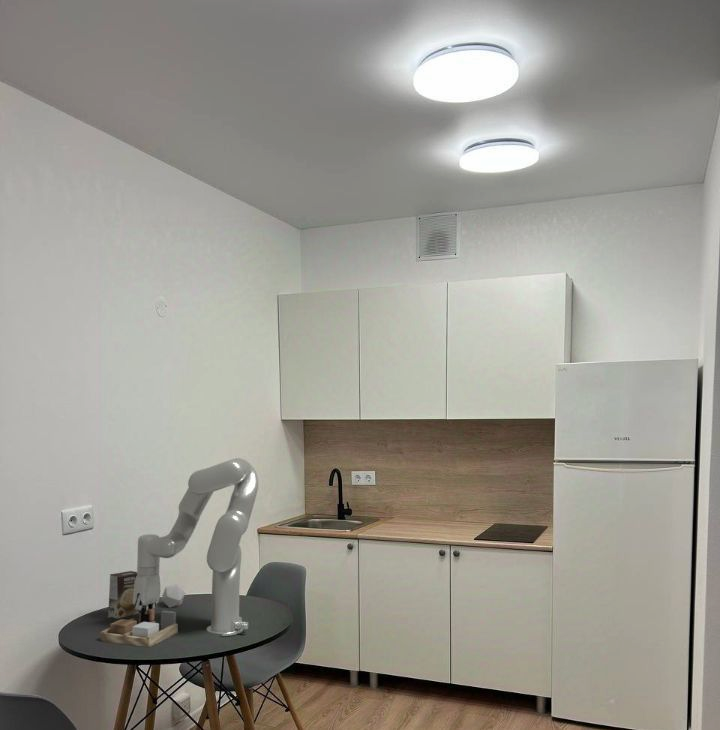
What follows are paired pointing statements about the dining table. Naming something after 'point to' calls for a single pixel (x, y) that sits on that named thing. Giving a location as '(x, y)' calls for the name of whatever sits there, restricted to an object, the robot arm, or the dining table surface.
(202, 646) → the dining table surface
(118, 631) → the walnut block
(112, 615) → the coffee box
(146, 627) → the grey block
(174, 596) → the die
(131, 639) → the lane shelf
